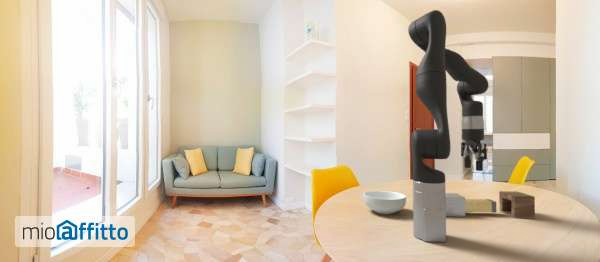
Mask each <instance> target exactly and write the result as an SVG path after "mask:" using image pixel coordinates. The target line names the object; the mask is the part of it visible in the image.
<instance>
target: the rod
mask: <svg viewBox="0 0 600 262" xmlns="http://www.w3.org/2000/svg"><path fill="white" fill-rule="evenodd" d="M465 213H493V214H495V213H497V201H496V200H493V199H490V198H489V199H488V198H485V199H481V198H480V199H473V198H472V199H471V198H465Z"/></svg>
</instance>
